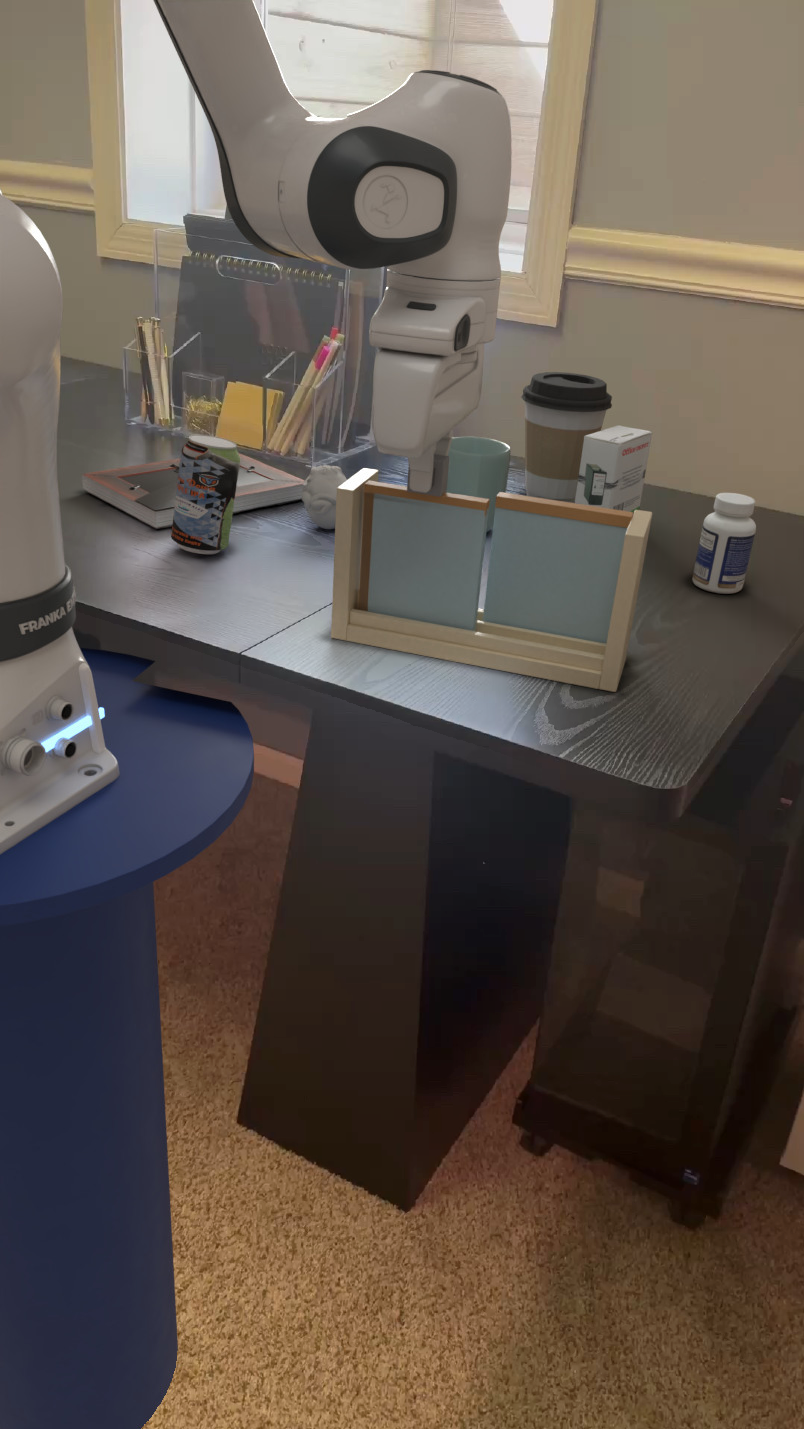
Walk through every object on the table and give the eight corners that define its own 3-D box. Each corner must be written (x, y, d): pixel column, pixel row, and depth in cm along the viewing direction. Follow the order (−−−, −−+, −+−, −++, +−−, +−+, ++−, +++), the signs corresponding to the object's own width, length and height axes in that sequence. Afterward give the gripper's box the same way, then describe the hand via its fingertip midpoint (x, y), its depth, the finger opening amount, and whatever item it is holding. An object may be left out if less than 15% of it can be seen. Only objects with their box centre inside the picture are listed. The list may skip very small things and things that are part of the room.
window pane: (471, 641, 96) (489, 468, 89) (356, 620, 99) (364, 450, 92) (476, 633, 98) (494, 462, 91) (363, 612, 101) (372, 444, 93)
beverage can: (161, 546, 117) (156, 434, 111) (219, 535, 121) (218, 427, 115) (191, 564, 113) (188, 449, 107) (251, 552, 117) (251, 441, 111)
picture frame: (156, 531, 121) (309, 500, 134) (155, 510, 119) (310, 480, 133) (82, 492, 131) (232, 467, 144) (81, 472, 130) (231, 448, 143)
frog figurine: (339, 515, 130) (341, 457, 126) (364, 534, 124) (367, 474, 121) (291, 520, 127) (292, 461, 124) (315, 539, 122) (317, 478, 118)
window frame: (615, 692, 93) (644, 534, 86) (330, 638, 99) (336, 485, 92) (625, 660, 99) (653, 509, 92) (356, 610, 105) (363, 465, 98)
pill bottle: (745, 583, 119) (765, 496, 114) (737, 599, 114) (758, 509, 110) (696, 572, 120) (714, 487, 116) (686, 588, 116) (704, 499, 111)
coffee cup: (613, 500, 143) (632, 383, 136) (566, 517, 135) (584, 394, 128) (541, 479, 149) (556, 366, 142) (492, 494, 141) (505, 376, 134)
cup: (474, 545, 123) (483, 458, 119) (421, 527, 128) (428, 443, 123) (513, 531, 129) (524, 447, 124) (462, 514, 133) (470, 432, 128)
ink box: (602, 517, 136) (618, 422, 130) (638, 527, 133) (655, 430, 128) (568, 532, 130) (582, 433, 124) (604, 543, 127) (621, 442, 122)
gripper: (437, 293, 95) (425, 450, 102) (361, 325, 78) (352, 512, 84) (507, 301, 94) (490, 460, 100) (446, 335, 76) (430, 524, 83)
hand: (427, 484), depth 92 cm, fingers closed on window pane, 2 cm apart
